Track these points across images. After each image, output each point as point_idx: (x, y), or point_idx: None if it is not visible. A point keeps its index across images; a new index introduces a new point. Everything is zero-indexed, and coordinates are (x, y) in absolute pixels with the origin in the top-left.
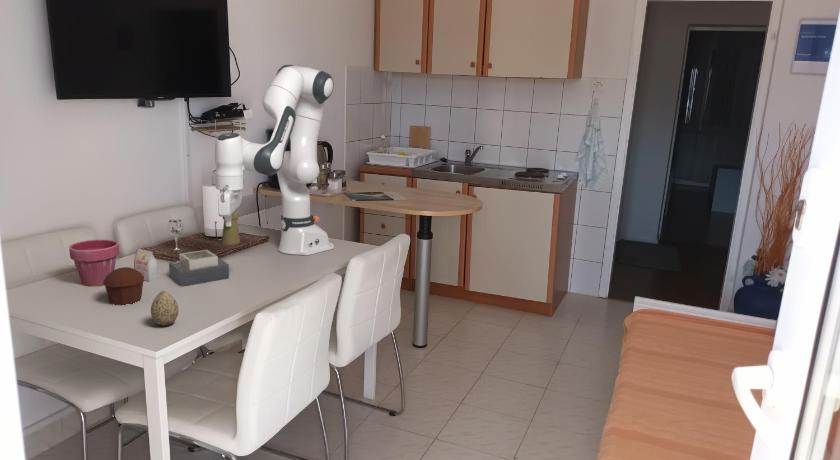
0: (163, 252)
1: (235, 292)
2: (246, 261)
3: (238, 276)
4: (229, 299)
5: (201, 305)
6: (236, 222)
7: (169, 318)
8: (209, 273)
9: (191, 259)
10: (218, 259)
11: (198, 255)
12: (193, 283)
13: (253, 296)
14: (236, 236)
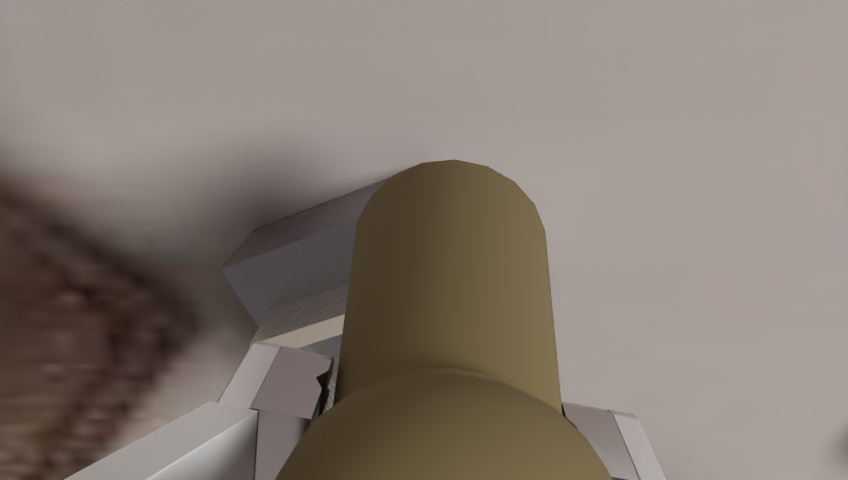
0: (10, 435)
1: (699, 129)
2: (84, 41)
3: (404, 104)
4: (804, 164)
5: (819, 292)
6: (502, 350)
7: None
8: None
9: (332, 390)
10: (306, 251)
11: None
12: None
13: (827, 18)
14: (528, 237)
